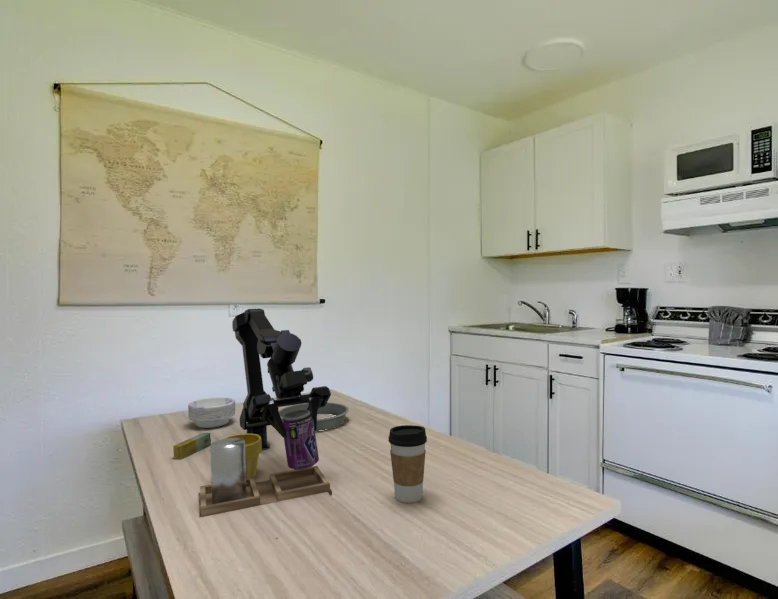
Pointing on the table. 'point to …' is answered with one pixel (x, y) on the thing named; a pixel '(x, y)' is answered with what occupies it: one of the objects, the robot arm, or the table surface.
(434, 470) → the table surface
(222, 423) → the paper bowls
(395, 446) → the coffee cup
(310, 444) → the beverage can
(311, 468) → the wooden tray
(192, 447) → the medication box
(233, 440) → the seated billet
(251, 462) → the plant pot
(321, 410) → the cake pan
